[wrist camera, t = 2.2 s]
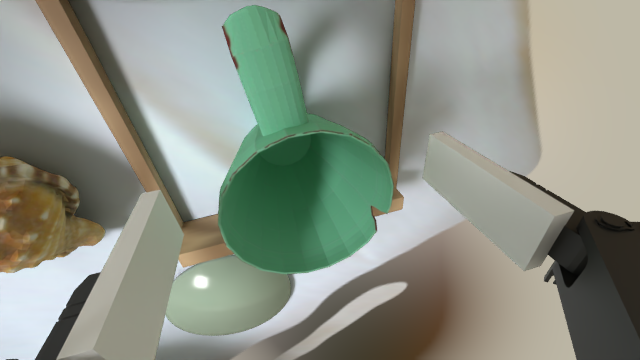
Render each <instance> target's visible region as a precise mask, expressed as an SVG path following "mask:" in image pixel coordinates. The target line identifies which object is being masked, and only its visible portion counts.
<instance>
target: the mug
mask: <svg viewBox="0 0 640 360" xmlns="http://www.w3.org/2000/svg"><path fill="white" fill-rule="evenodd" d="M222 28H223V31H224V35H225V38H226V41H227V44H228V47H229V50H230V53H231V57H232V59H233V62H234V64H235V67H236V69H237V72H238V75H239V77H240V80H241V82H242V85H243V87H244V90H245V93H246V95H247V98H248V100H249V103H250V105H251V108H252V110H253V113H254V115H255V117H256V120H257V122H258V124H257V125H256V126H255V127H254V128H253V129H252V130H251V131H250V132H249V134H248V135H247V136H246V137H245V138H244V140H243V142H242V144H241V147H240V149H239V151H238V153H237V155H236V157H235V159H234V161H233V163H232V165H231V167H230V169H229V171H228V174H227V176H226V178H225V180H224V182H223V184H222V186H221V189H220V195H219V211H218V227H219V230H220V232H221V235H222V237H223V240H224V242H225V245H226V246H227V247H228V248H229V249H230V250H231V251H232V252H233V253H234V254H235V255H236V256H237V257H238V258H239V259H240V260H241V261H242V262H244V263H246V264H248V265H251V266H253V267H255V268H257V269H259V270H261V271H267V272H273V273H279V274H297V273H308V272H312V271H316V270H319V269H323V268H326V267H330V266H332V265H334V264H336V263H338V262H340V261H342V260H344V259H346V258H348V257H350V256H351V255H353V254H354V253H355V252H356V251H358V250H359V249H360V248H361V247H363V246H364V245H365V244H367V243H368V242H369V241H370V239H371V238H372V237H373V235H374V234H375V233H376V232H377V225H376V219H375V217H374V216H373V211H372V206H373V207H375V208H377V209H378V210H379V211H381V212H384V213H386V214H388V212H389V210H390V207H391V205H392V197H393V189H394V182H393V179H392V175H391V171H390V167H389V164H388V163H387V161H386V160H385V159H384V158H383V156H382V155H381V154H380V153H379V152H378V150H377V149H376V148H375V147H374V145H372V144H371V143H370V142H369V141H368V140H367V139H365V138H364V137H362V136H360V135H358V134H356V133H354V132H352V131H351V130H349V129H347V128H345V127H343V126H341V125H338V124H336V123H333V122H331V121H328V120H326V119H324V118H321V117H319V116H317V115H314V114H308V113H307V112H306V108H305V103H304V99H303V95H302V90H301V86H300V81H299V77H298V73H297V69H296V65H295V61H294V58H293V54H292V50H291V46H290V42H289V38H288V36H287V33H286V30H285V28H284V25H283V22H282V19H281V17H280V15H279V14H278V13H277V12H274V11H272V10H270V9H267V8H265V7H261V6H257V5H252V6H246V7H244V8H242V9H240V10H238V11H237V12H235V13H233V14H231V15H230V16H229V17H228V19H227V20H226V21H225V23H224V25H223V26H222Z"/></svg>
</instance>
